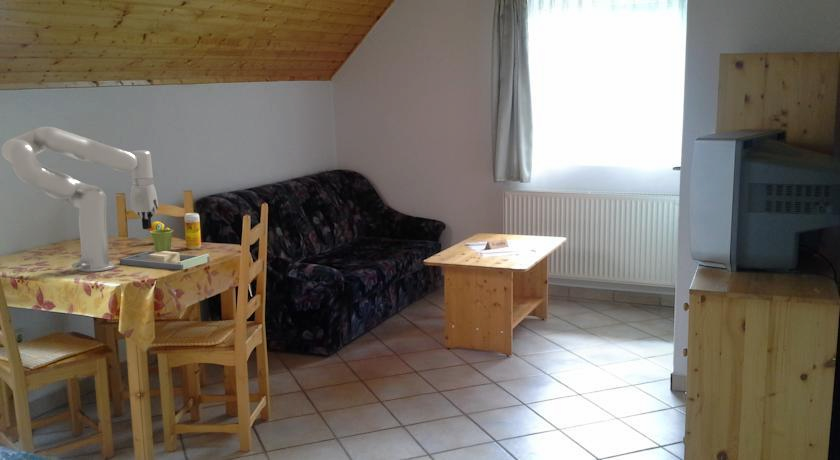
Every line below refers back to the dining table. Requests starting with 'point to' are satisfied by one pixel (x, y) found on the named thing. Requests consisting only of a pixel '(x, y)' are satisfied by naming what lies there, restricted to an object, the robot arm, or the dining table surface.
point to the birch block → (165, 257)
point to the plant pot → (162, 239)
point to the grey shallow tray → (141, 261)
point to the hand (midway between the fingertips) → (147, 228)
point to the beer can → (192, 231)
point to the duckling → (156, 226)
